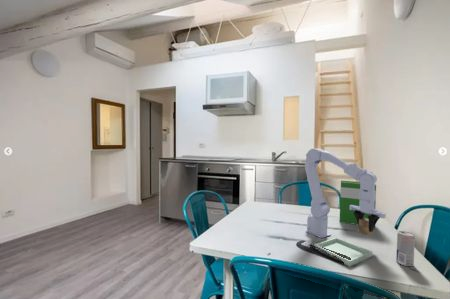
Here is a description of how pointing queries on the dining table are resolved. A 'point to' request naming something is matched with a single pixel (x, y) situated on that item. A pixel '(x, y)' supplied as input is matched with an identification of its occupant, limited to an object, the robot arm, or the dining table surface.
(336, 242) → the tray
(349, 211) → the hardback book
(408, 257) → the energy drink
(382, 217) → the robot arm
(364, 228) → the walnut block
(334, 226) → the dining table surface
